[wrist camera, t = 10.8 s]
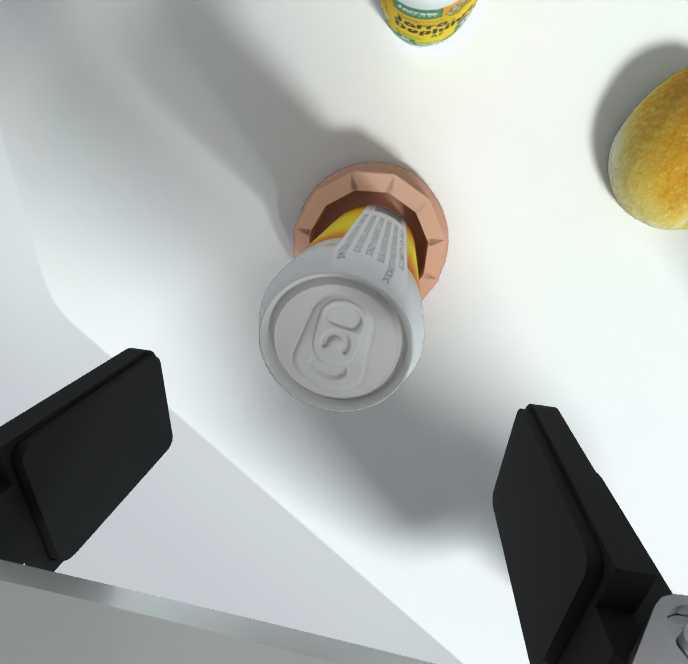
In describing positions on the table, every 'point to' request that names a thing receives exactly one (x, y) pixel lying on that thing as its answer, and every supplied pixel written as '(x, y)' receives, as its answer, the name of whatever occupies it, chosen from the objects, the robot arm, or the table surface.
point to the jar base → (385, 190)
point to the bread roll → (654, 157)
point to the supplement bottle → (426, 19)
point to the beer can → (346, 313)
